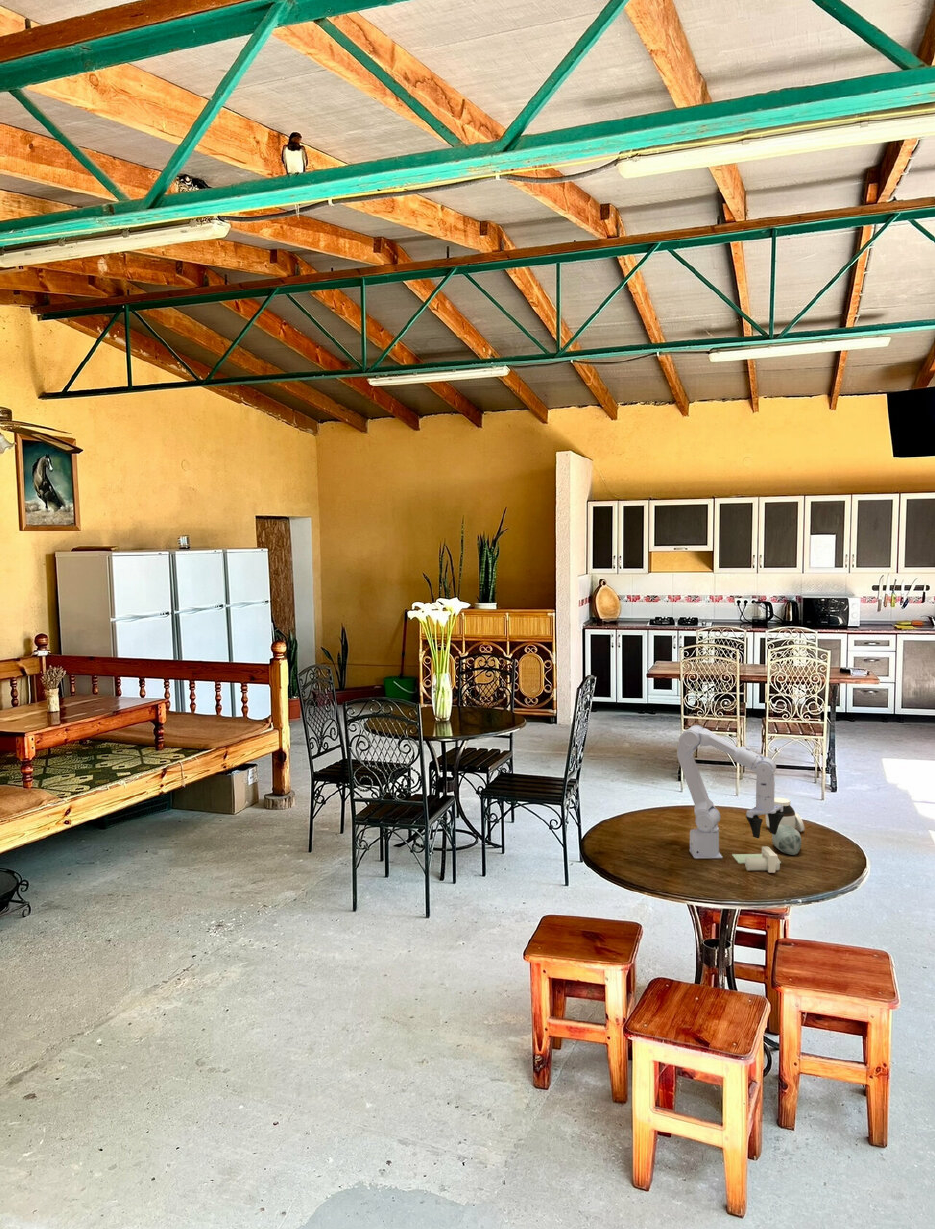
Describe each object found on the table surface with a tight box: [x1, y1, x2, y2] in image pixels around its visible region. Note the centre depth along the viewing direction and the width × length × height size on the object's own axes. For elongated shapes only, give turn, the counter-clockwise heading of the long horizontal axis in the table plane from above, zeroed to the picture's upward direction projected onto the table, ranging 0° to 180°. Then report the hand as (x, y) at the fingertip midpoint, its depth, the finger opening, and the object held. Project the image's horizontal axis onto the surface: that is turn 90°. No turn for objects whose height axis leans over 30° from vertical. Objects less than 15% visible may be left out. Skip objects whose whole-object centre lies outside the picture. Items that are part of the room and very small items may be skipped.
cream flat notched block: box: [761, 845, 779, 873], centre depth 281 cm, size 2×9×6 cm, turn 179°
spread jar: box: [765, 796, 806, 833], centre depth 320 cm, size 12×11×12 cm
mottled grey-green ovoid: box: [771, 824, 802, 856], centre depth 300 cm, size 14×10×10 cm
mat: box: [731, 853, 782, 864], centre depth 292 cm, size 14×8×1 cm, turn 89°
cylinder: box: [744, 858, 781, 872], centre depth 282 cm, size 10×4×4 cm, turn 89°
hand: (764, 835), depth 287 cm, fingers open, 7 cm apart
